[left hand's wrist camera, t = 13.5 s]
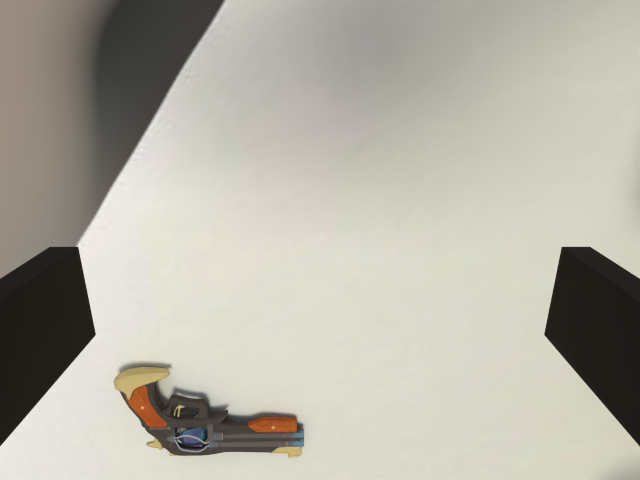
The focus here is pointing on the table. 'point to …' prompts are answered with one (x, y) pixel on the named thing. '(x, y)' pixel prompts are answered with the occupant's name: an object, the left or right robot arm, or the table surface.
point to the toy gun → (202, 422)
